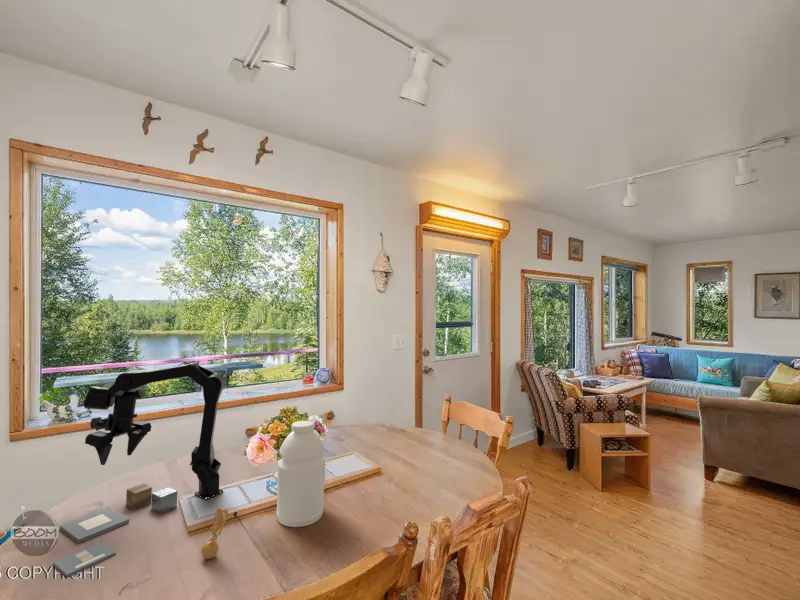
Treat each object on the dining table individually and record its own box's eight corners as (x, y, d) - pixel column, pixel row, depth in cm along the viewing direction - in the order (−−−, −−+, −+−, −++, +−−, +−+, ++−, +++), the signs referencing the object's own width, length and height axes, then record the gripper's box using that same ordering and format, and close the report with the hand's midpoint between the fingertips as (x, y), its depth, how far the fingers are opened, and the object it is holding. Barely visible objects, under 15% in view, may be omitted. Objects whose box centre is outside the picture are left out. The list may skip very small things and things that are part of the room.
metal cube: (176, 506, 124) (177, 490, 124) (160, 514, 120) (160, 497, 120) (167, 502, 127) (168, 486, 127) (151, 509, 123) (151, 493, 123)
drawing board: (115, 554, 100) (115, 551, 100) (67, 577, 92) (67, 574, 92) (100, 543, 105) (100, 541, 105) (52, 564, 96) (53, 561, 96)
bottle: (274, 508, 125) (276, 419, 125) (318, 500, 130) (320, 415, 131) (279, 532, 112) (282, 432, 112) (327, 523, 117) (330, 427, 118)
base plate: (128, 522, 115) (128, 518, 115) (78, 543, 105) (78, 539, 105) (108, 510, 121) (109, 506, 121) (59, 529, 111) (59, 525, 111)
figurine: (198, 551, 102) (199, 505, 103) (223, 544, 106) (224, 498, 106) (203, 569, 96) (205, 519, 96) (230, 560, 99) (231, 512, 99)
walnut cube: (151, 502, 126) (151, 487, 126) (134, 509, 122) (134, 493, 122) (143, 498, 129) (143, 483, 129) (126, 505, 125) (126, 489, 125)
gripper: (128, 400, 137) (121, 446, 137) (74, 412, 119) (66, 464, 119) (155, 406, 135) (148, 452, 135) (104, 419, 117) (96, 472, 116)
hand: (116, 459), depth 126 cm, fingers open, 9 cm apart
